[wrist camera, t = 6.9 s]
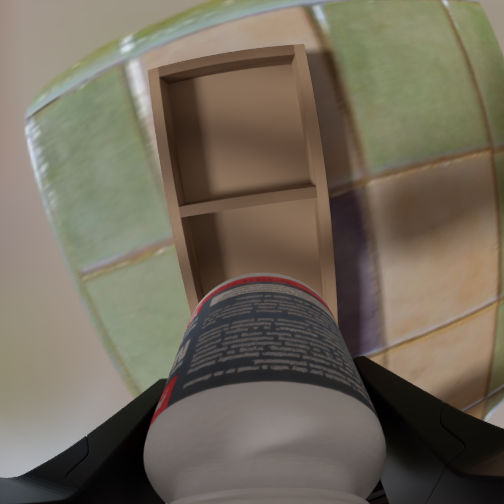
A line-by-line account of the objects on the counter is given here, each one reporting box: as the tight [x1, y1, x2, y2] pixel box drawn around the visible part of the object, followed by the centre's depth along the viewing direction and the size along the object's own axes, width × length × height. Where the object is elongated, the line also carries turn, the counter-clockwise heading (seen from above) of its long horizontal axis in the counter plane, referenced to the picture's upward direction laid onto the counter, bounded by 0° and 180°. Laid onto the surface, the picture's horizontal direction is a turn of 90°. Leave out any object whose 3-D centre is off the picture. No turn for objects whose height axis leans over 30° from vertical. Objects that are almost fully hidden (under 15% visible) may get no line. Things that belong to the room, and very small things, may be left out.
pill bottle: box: [143, 273, 386, 504], centre depth 7 cm, size 5×5×9 cm
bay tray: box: [148, 44, 338, 325], centre depth 19 cm, size 25×9×2 cm, turn 8°
